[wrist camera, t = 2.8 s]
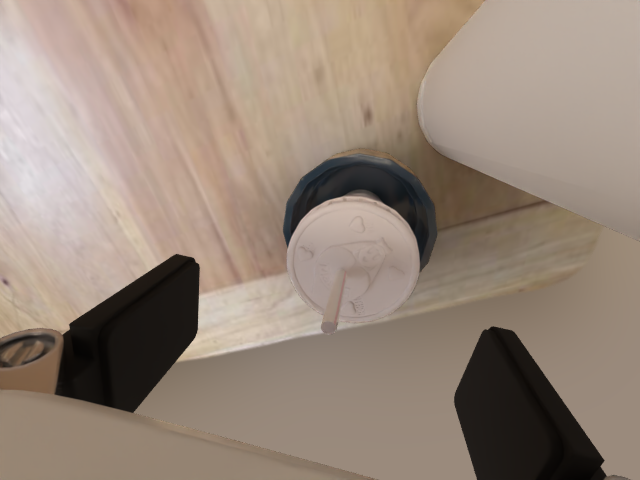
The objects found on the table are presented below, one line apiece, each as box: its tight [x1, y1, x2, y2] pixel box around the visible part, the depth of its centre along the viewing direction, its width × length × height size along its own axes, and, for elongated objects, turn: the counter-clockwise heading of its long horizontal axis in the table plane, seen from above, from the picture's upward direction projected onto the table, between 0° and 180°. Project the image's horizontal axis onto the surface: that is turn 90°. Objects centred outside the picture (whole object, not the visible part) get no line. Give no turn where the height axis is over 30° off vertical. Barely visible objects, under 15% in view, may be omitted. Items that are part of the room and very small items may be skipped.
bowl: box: [283, 148, 437, 273], centre depth 22 cm, size 9×9×5 cm
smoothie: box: [287, 190, 420, 335], centre depth 17 cm, size 6×6×14 cm
